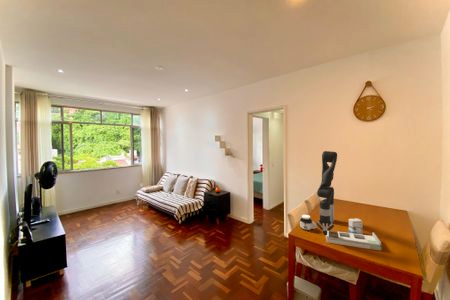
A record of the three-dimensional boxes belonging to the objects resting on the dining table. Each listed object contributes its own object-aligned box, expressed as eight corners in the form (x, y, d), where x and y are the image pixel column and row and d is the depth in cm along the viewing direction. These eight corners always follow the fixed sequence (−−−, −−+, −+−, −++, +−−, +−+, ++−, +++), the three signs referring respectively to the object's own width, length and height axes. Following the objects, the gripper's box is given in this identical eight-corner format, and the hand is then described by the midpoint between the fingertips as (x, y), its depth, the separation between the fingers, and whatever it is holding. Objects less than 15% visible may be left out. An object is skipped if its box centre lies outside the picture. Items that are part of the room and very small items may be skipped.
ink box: (352, 235, 158) (352, 221, 157) (348, 232, 163) (348, 218, 162) (362, 234, 158) (362, 220, 158) (358, 231, 164) (358, 218, 163)
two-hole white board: (325, 232, 164) (325, 226, 164) (373, 239, 151) (373, 232, 151) (326, 242, 150) (326, 235, 149) (381, 250, 136) (381, 243, 136)
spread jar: (298, 228, 174) (298, 215, 173) (305, 224, 181) (304, 212, 180) (311, 233, 165) (311, 219, 164) (318, 228, 172) (317, 215, 171)
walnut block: (328, 235, 156) (328, 230, 155) (337, 236, 153) (337, 231, 153) (329, 238, 150) (329, 233, 150) (338, 240, 148) (338, 234, 147)
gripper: (333, 213, 154) (334, 234, 155) (315, 211, 159) (315, 231, 160) (335, 216, 147) (335, 238, 148) (315, 214, 152) (316, 236, 153)
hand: (325, 235), depth 154 cm, fingers closed
